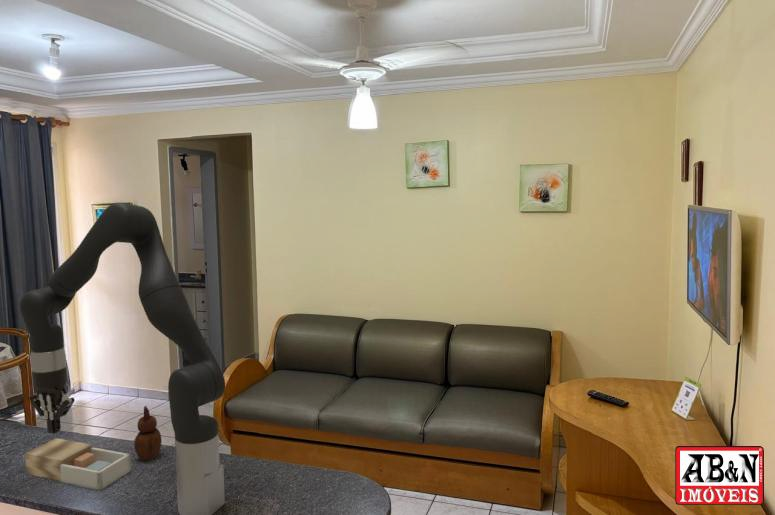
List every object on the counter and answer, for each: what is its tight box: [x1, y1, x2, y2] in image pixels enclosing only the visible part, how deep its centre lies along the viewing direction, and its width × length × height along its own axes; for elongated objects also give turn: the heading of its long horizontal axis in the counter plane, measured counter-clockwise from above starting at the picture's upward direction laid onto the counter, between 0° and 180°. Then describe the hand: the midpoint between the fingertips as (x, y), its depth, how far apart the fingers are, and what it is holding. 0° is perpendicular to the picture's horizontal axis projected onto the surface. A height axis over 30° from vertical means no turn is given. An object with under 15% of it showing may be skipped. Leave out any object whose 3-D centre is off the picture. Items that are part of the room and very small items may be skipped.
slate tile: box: [86, 460, 111, 471], centre depth 138 cm, size 4×4×2 cm
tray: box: [60, 447, 132, 492], centre depth 138 cm, size 12×10×4 cm
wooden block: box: [24, 438, 93, 482], centre depth 142 cm, size 12×9×6 cm
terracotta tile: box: [74, 452, 95, 468], centre depth 140 cm, size 4×4×2 cm
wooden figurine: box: [134, 405, 162, 461], centre depth 148 cm, size 7×6×15 cm
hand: (54, 432), depth 141 cm, fingers closed
